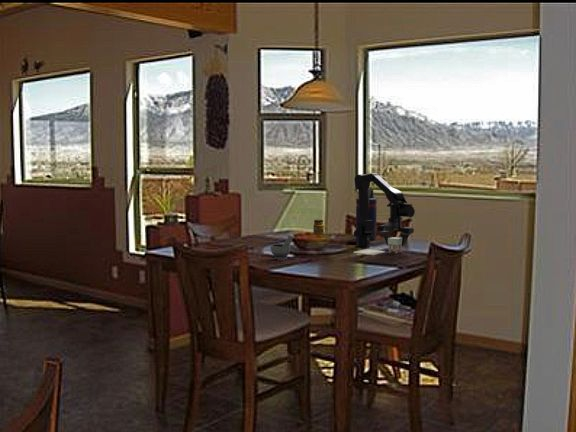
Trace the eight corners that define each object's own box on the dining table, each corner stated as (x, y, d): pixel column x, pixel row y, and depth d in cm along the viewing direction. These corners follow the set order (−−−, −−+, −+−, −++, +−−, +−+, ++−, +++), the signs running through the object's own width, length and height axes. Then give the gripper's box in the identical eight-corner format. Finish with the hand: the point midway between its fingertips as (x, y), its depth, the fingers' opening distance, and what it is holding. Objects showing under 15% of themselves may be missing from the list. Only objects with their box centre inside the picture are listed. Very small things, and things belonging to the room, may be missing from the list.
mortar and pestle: (270, 261, 336) (270, 236, 335) (270, 257, 346) (270, 233, 344) (294, 260, 337) (294, 236, 335) (293, 257, 346) (293, 233, 345)
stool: (387, 252, 361) (387, 238, 360) (393, 251, 365) (393, 237, 364) (396, 253, 357) (397, 239, 356) (402, 252, 361) (402, 238, 361)
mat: (353, 252, 360) (353, 251, 360) (366, 250, 369) (366, 249, 369) (372, 255, 352) (372, 254, 352) (385, 252, 361) (385, 251, 361)
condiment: (326, 240, 404) (326, 220, 403) (314, 241, 400) (314, 221, 398) (319, 239, 410) (319, 218, 409) (307, 240, 406) (307, 219, 404)
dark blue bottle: (356, 237, 416) (356, 187, 412) (376, 237, 414) (376, 187, 411) (355, 240, 402) (355, 189, 399) (376, 241, 400) (376, 189, 397)
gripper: (371, 215, 359) (371, 245, 360) (403, 218, 347) (402, 249, 349) (383, 214, 367) (383, 243, 369) (414, 216, 355) (414, 246, 357)
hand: (395, 245), depth 361 cm, fingers open, 9 cm apart
